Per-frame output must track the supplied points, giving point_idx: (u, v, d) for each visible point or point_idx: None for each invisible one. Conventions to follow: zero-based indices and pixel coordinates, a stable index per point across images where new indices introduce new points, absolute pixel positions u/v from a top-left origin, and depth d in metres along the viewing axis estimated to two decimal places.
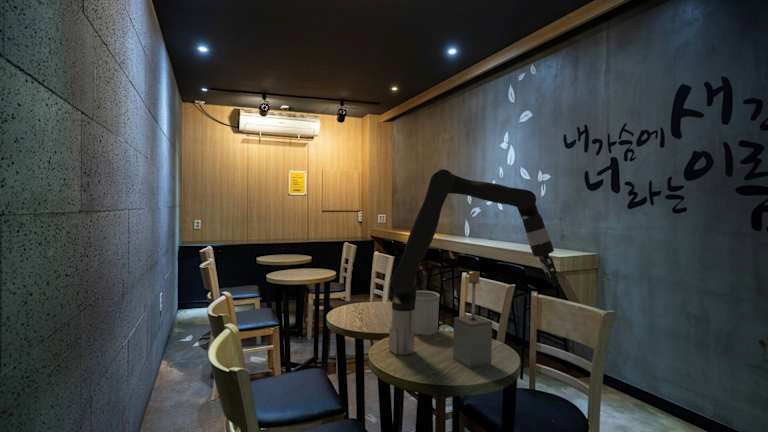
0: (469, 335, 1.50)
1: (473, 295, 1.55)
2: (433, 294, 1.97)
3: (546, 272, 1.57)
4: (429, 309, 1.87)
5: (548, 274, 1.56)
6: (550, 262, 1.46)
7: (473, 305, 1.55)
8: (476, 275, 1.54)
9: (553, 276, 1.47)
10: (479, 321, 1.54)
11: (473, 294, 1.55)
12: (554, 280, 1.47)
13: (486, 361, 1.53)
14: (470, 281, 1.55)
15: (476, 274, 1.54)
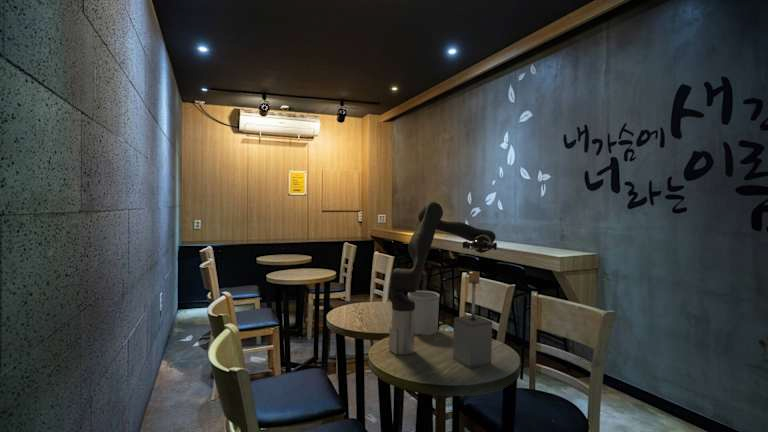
0: (469, 335, 1.50)
1: (473, 295, 1.55)
2: (433, 294, 1.97)
3: (468, 243, 1.77)
4: (429, 309, 1.87)
5: (469, 245, 1.76)
6: None
7: (473, 305, 1.55)
8: (476, 275, 1.54)
9: (492, 246, 1.73)
10: (479, 321, 1.54)
11: (473, 294, 1.55)
12: (491, 246, 1.72)
13: (486, 361, 1.53)
14: (470, 281, 1.55)
15: (476, 274, 1.54)
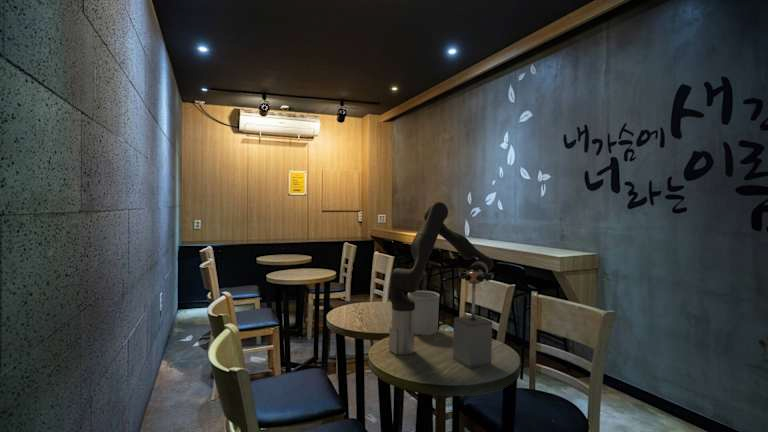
0: (469, 335, 1.50)
1: (473, 295, 1.55)
2: (433, 294, 1.97)
3: None
4: (429, 309, 1.87)
5: None
6: (492, 277, 1.59)
7: (473, 305, 1.55)
8: (476, 275, 1.54)
9: (482, 277, 1.55)
10: (479, 321, 1.54)
11: (473, 294, 1.55)
12: (482, 277, 1.54)
13: (486, 361, 1.53)
14: (470, 281, 1.55)
15: (476, 274, 1.54)
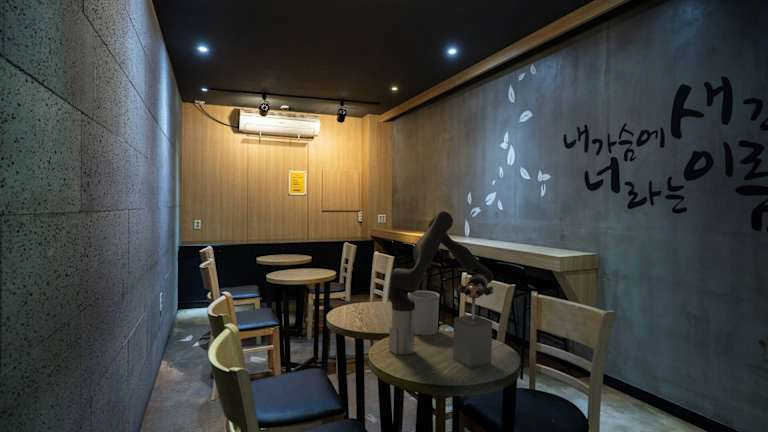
0: (469, 335, 1.50)
1: (473, 309, 1.55)
2: (433, 294, 1.97)
3: (467, 288, 1.58)
4: (429, 309, 1.87)
5: None
6: (492, 291, 1.59)
7: (473, 319, 1.56)
8: (475, 289, 1.54)
9: None
10: (479, 321, 1.54)
11: (473, 308, 1.55)
12: (482, 292, 1.54)
13: (486, 361, 1.53)
14: (470, 296, 1.55)
15: (476, 289, 1.54)
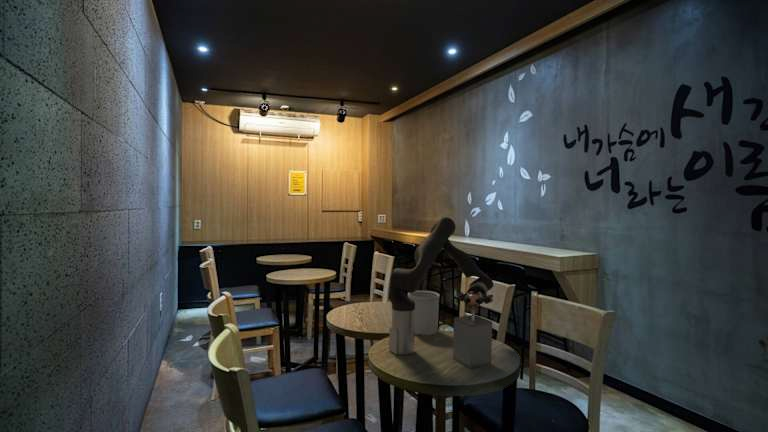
0: (469, 335, 1.50)
1: (472, 318, 1.56)
2: (433, 294, 1.97)
3: (467, 297, 1.58)
4: (429, 309, 1.87)
5: None
6: (491, 299, 1.59)
7: None
8: (475, 298, 1.54)
9: None
10: (479, 321, 1.54)
11: (472, 317, 1.56)
12: (482, 300, 1.54)
13: (486, 361, 1.53)
14: (469, 304, 1.55)
15: (475, 297, 1.54)
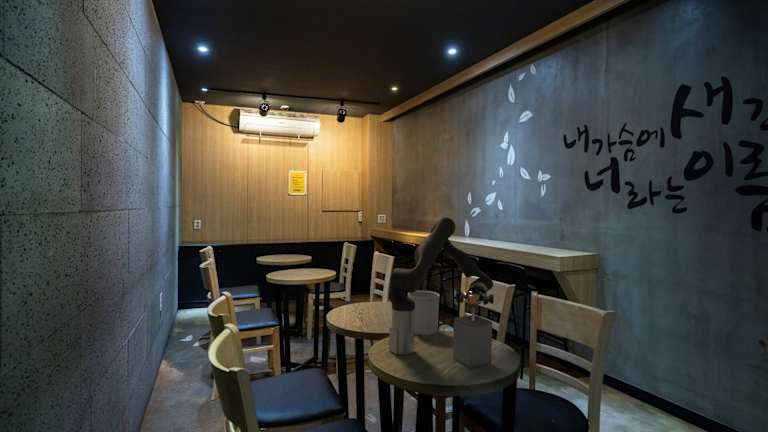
0: (469, 335, 1.50)
1: (472, 318, 1.56)
2: (433, 294, 1.97)
3: (462, 296, 1.59)
4: (429, 309, 1.87)
5: (463, 297, 1.58)
6: None
7: None
8: (475, 298, 1.54)
9: (488, 300, 1.56)
10: (479, 321, 1.54)
11: (472, 317, 1.56)
12: (487, 300, 1.54)
13: (486, 361, 1.53)
14: (469, 304, 1.55)
15: (475, 297, 1.54)
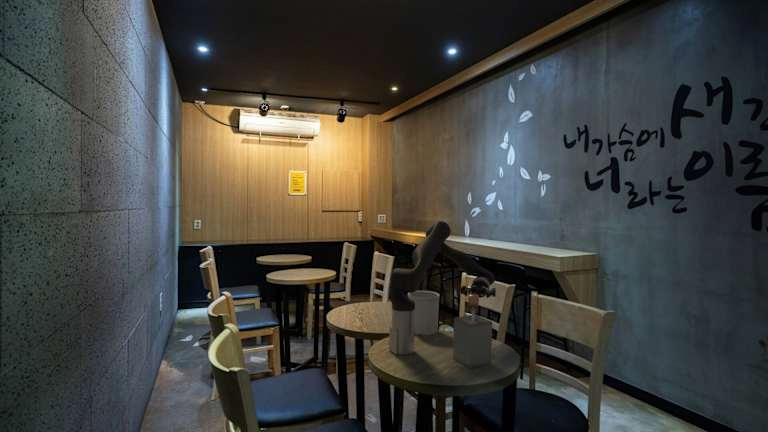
0: (469, 335, 1.50)
1: (472, 318, 1.56)
2: (433, 294, 1.97)
3: None
4: (429, 309, 1.87)
5: (467, 291, 1.71)
6: None
7: None
8: (475, 298, 1.54)
9: (490, 293, 1.68)
10: (479, 321, 1.54)
11: (472, 317, 1.56)
12: (490, 294, 1.67)
13: (486, 361, 1.53)
14: (469, 304, 1.55)
15: (475, 297, 1.54)
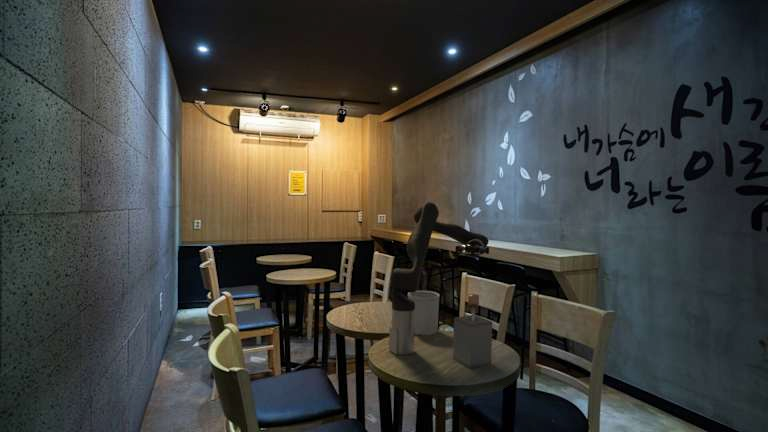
0: (469, 335, 1.50)
1: (472, 318, 1.56)
2: (433, 294, 1.97)
3: (461, 248, 1.78)
4: (429, 309, 1.87)
5: None
6: None
7: None
8: (475, 298, 1.54)
9: (484, 250, 1.75)
10: (479, 321, 1.54)
11: (472, 317, 1.56)
12: (483, 251, 1.73)
13: (486, 361, 1.53)
14: (469, 304, 1.55)
15: (475, 297, 1.54)
